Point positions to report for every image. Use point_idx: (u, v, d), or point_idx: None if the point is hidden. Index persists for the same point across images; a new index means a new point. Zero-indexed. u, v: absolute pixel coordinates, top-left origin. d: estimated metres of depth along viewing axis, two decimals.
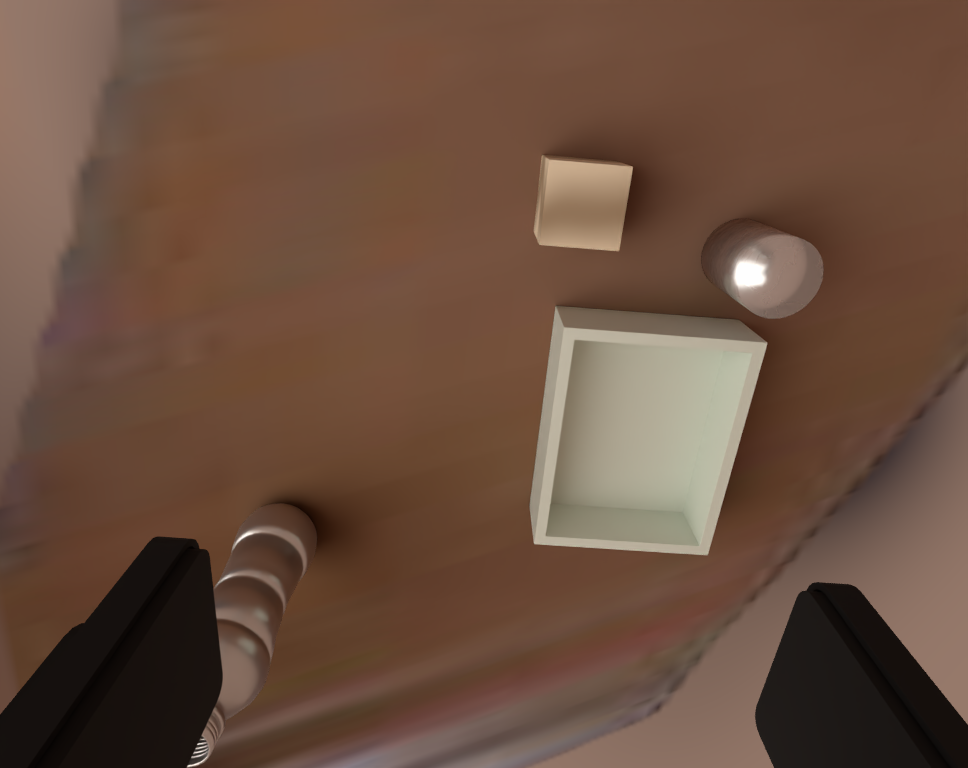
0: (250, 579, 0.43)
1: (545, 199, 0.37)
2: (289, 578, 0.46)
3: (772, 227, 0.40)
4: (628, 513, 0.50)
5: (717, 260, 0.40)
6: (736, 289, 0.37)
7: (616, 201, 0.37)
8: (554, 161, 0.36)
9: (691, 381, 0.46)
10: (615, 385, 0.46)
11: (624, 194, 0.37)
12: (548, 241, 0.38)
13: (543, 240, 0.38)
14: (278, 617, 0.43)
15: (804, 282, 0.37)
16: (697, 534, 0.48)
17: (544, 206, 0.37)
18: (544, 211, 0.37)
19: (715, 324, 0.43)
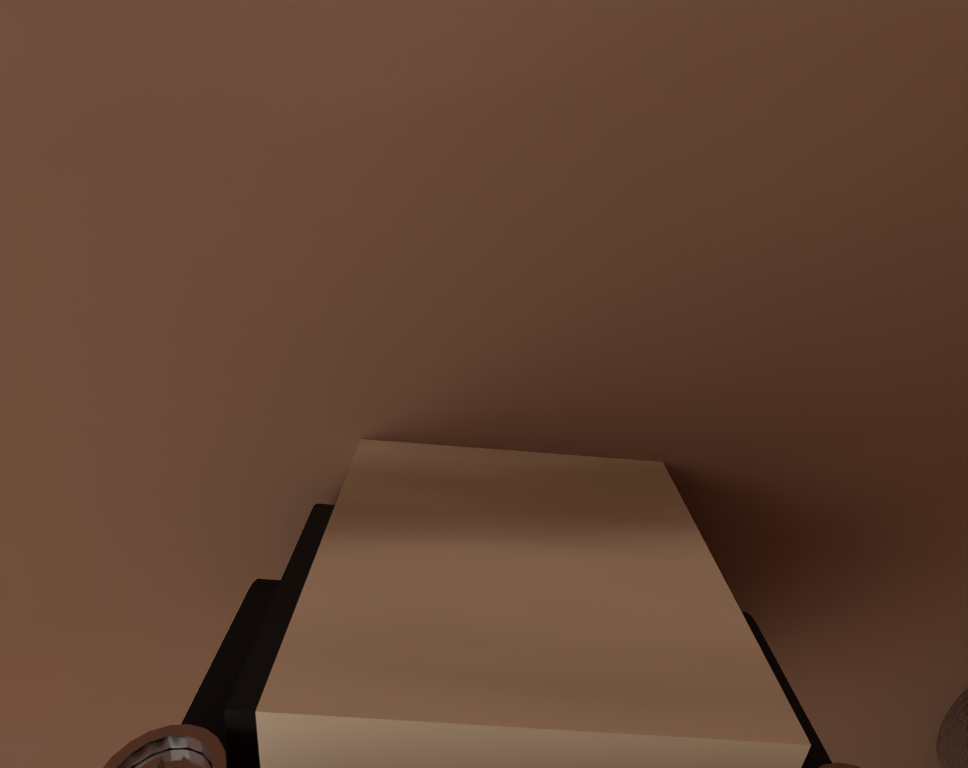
0: None
1: None
2: None
3: None
4: None
5: None
6: None
7: None
8: (292, 719, 0.05)
9: None
10: None
11: None
12: None
13: None
14: None
15: None
16: None
17: None
18: None
19: None
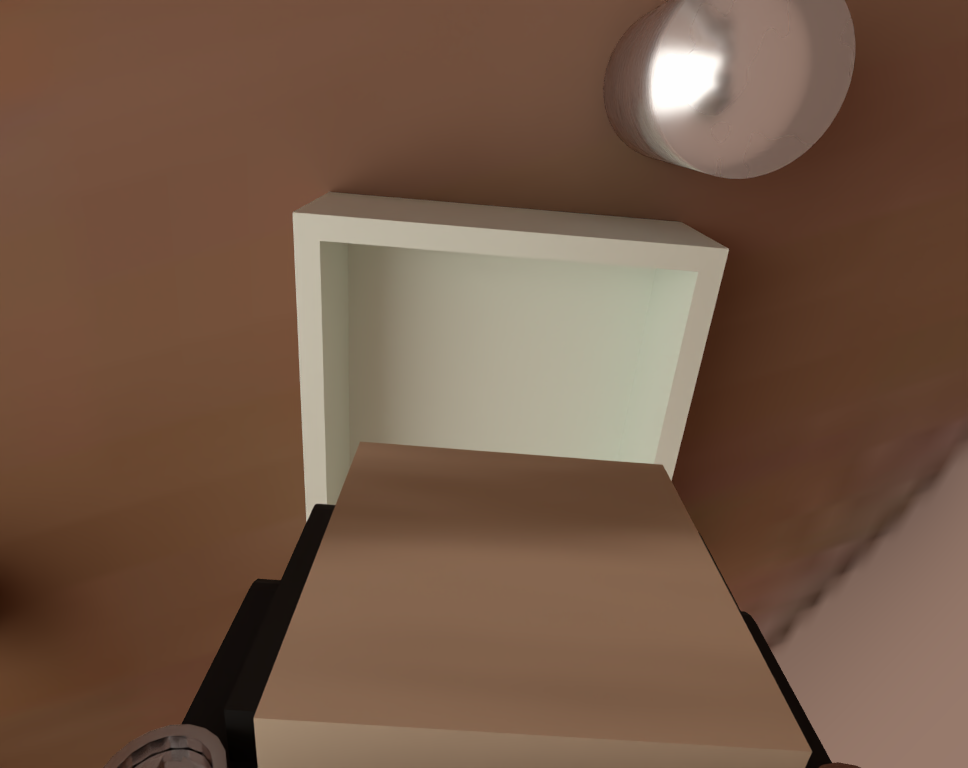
0: None
1: None
2: None
3: None
4: None
5: (623, 71, 0.19)
6: (652, 107, 0.16)
7: None
8: (291, 725, 0.05)
9: (596, 340, 0.25)
10: (456, 348, 0.25)
11: None
12: None
13: None
14: None
15: (809, 85, 0.15)
16: None
17: None
18: None
19: (631, 224, 0.22)
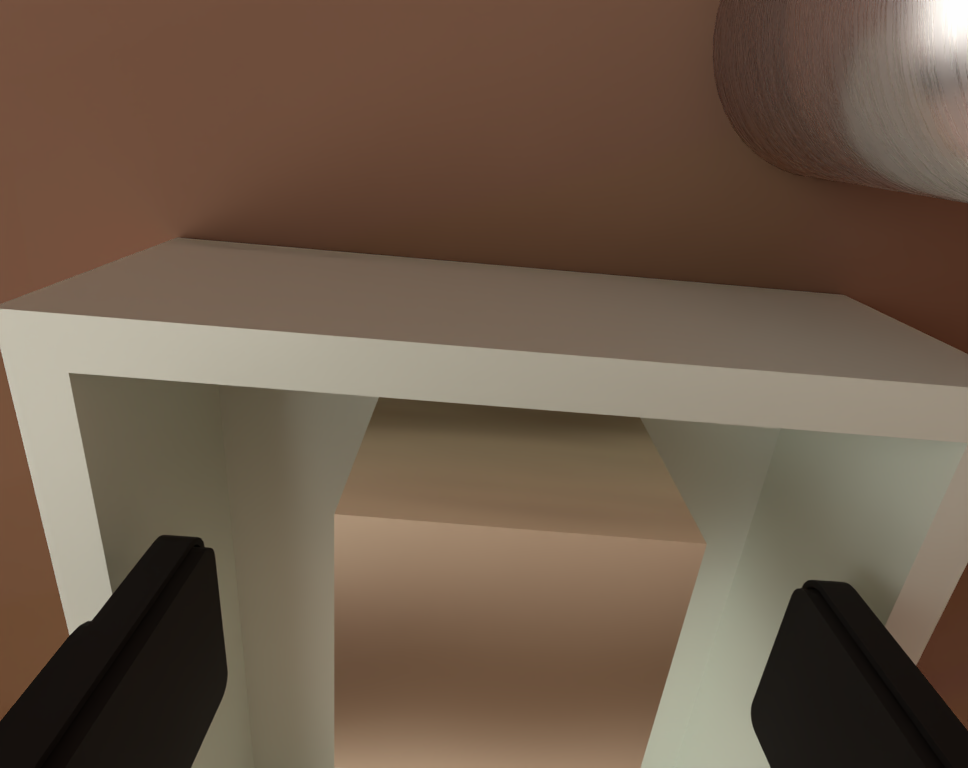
0: None
1: (338, 641, 0.09)
2: None
3: None
4: None
5: None
6: None
7: (632, 651, 0.09)
8: (359, 520, 0.08)
9: None
10: None
11: (664, 632, 0.09)
12: (367, 759, 0.10)
13: (347, 757, 0.10)
14: None
15: None
16: None
17: (338, 660, 0.09)
18: (338, 678, 0.09)
19: (768, 308, 0.11)
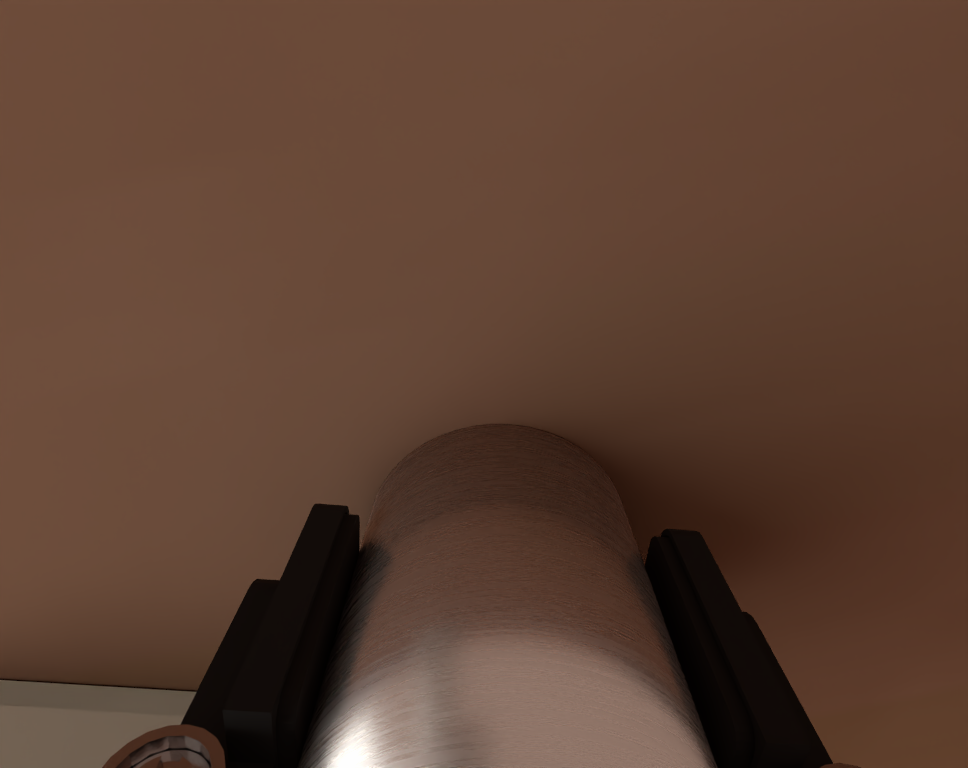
0: None
1: None
2: None
3: (564, 529, 0.08)
4: None
5: None
6: None
7: None
8: None
9: None
10: None
11: None
12: None
13: None
14: None
15: None
16: None
17: None
18: None
19: None
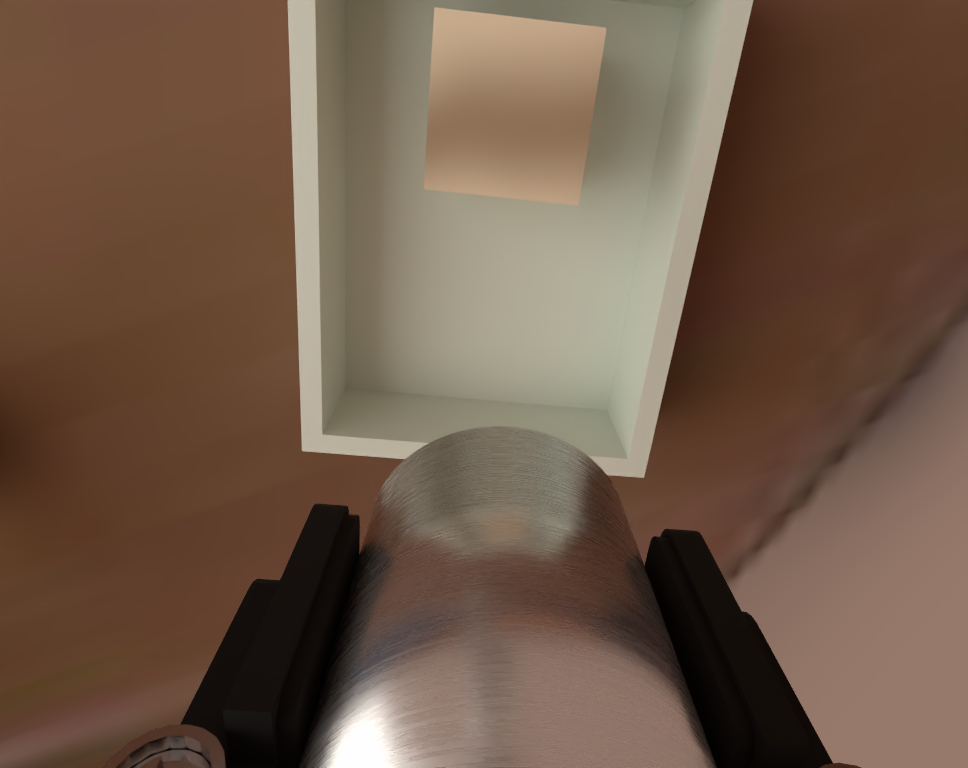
0: None
1: (431, 95, 0.18)
2: None
3: (565, 532, 0.08)
4: (505, 408, 0.27)
5: None
6: None
7: (574, 101, 0.18)
8: (445, 11, 0.17)
9: (612, 128, 0.23)
10: None
11: (589, 88, 0.18)
12: (440, 182, 0.19)
13: (430, 180, 0.19)
14: None
15: None
16: (625, 438, 0.25)
17: (429, 110, 0.19)
18: (429, 120, 0.19)
19: None
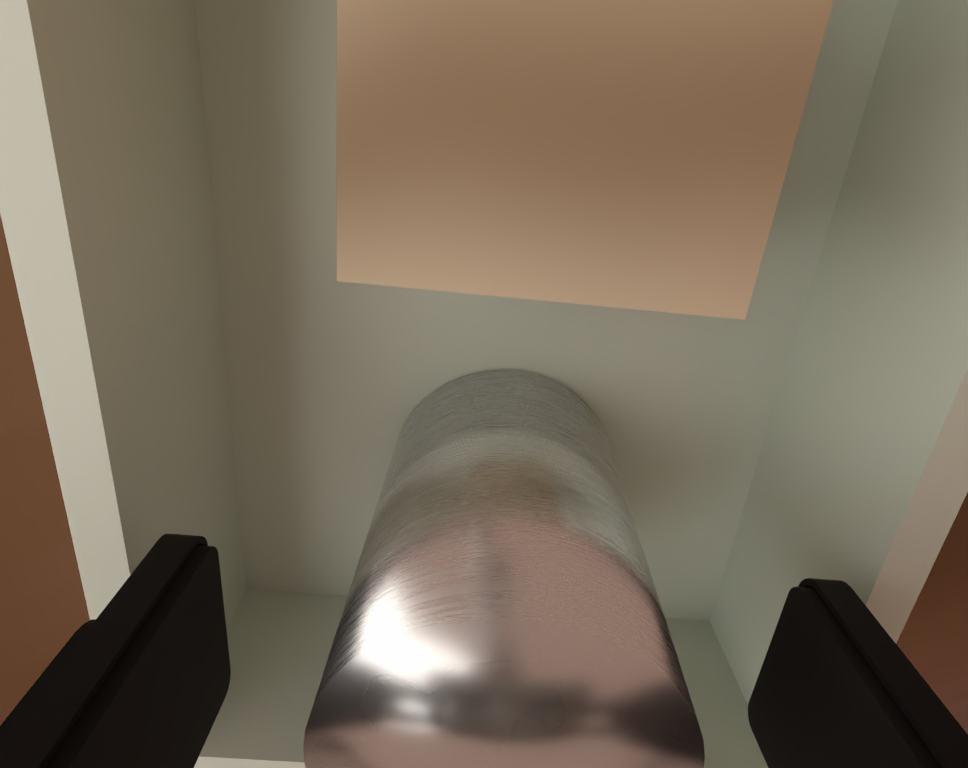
0: None
1: (343, 20, 0.06)
2: None
3: (559, 445, 0.10)
4: None
5: None
6: None
7: (762, 38, 0.06)
8: None
9: None
10: None
11: None
12: (382, 264, 0.07)
13: (354, 259, 0.07)
14: None
15: None
16: None
17: (343, 66, 0.06)
18: (343, 95, 0.06)
19: None
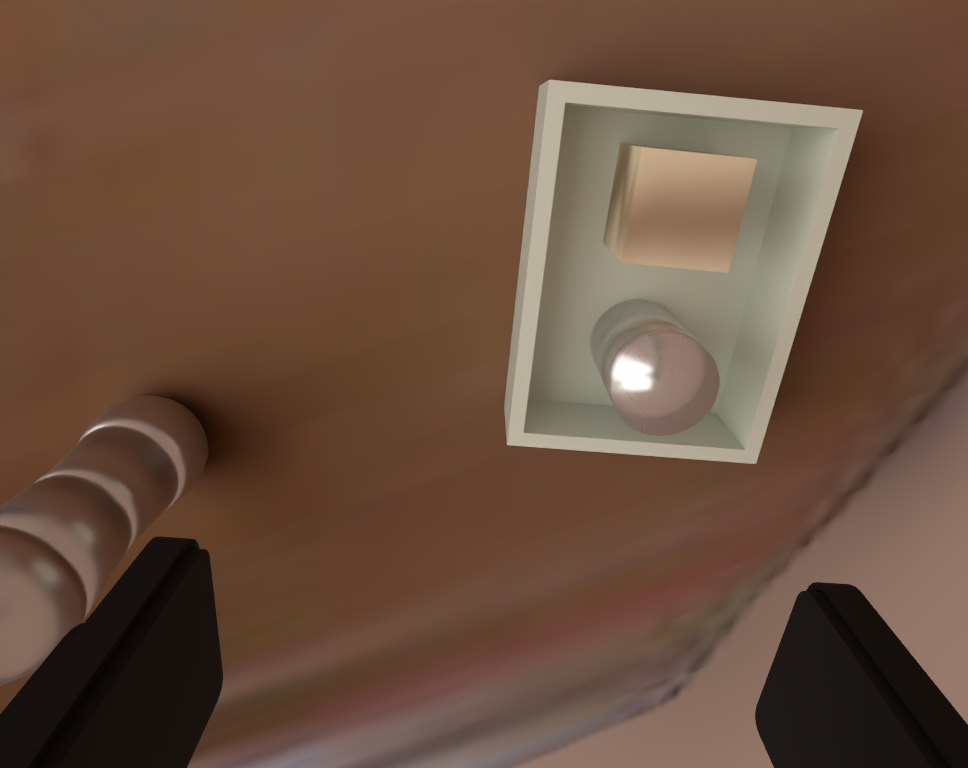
0: (76, 480, 0.28)
1: (634, 201, 0.27)
2: (147, 488, 0.31)
3: (671, 317, 0.31)
4: None
5: (600, 348, 0.32)
6: (610, 393, 0.29)
7: (731, 205, 0.27)
8: (650, 149, 0.26)
9: None
10: None
11: (742, 196, 0.27)
12: (634, 258, 0.28)
13: (628, 256, 0.28)
14: (116, 537, 0.28)
15: (694, 396, 0.29)
16: (741, 434, 0.33)
17: (632, 211, 0.27)
18: (632, 217, 0.27)
19: None
